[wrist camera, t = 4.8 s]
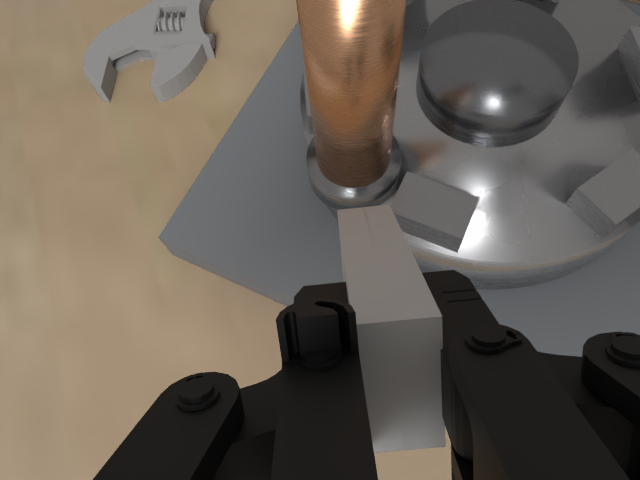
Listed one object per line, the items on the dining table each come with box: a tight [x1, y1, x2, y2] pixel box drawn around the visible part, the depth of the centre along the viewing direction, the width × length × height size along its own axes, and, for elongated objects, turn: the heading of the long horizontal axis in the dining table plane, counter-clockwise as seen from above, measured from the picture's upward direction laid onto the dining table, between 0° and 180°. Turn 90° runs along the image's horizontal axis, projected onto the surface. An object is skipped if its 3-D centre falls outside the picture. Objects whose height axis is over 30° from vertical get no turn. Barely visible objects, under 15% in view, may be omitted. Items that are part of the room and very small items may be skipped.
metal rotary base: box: [296, 0, 640, 290], centre depth 19 cm, size 17×16×13 cm
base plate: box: [158, 0, 640, 357], centre depth 26 cm, size 22×22×2 cm
